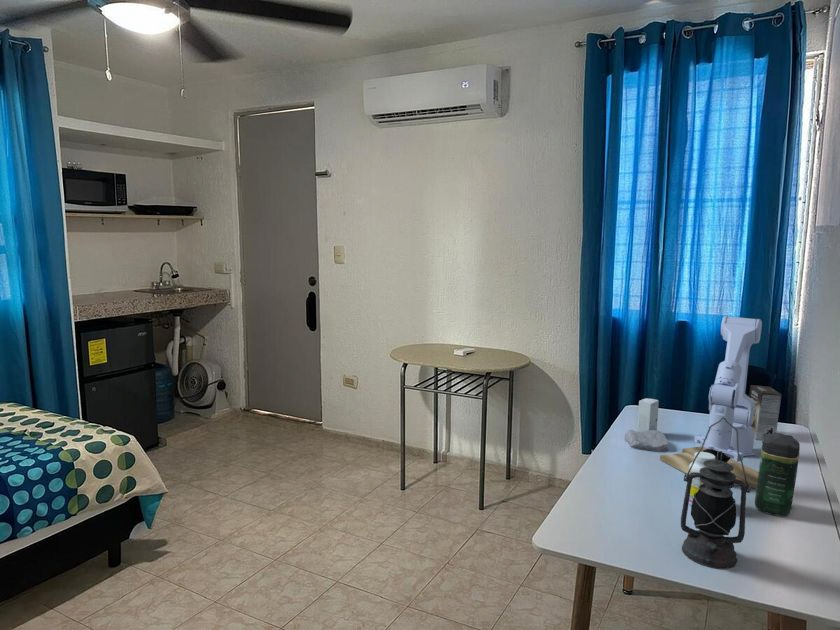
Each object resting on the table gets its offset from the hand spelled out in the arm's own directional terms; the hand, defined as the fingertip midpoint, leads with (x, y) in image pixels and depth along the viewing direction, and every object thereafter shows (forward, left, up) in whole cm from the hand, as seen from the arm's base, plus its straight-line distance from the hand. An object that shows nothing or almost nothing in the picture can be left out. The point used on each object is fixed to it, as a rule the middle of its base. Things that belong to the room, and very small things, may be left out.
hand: (714, 476), depth 162 cm
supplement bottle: (+14, +9, -2) cm, 16 cm away
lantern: (+30, +28, -2) cm, 41 cm away
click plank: (-1, -7, -1) cm, 7 cm away
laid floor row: (-11, -7, -2) cm, 14 cm away
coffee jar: (-2, +16, -2) cm, 16 cm away
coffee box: (-44, -25, -2) cm, 51 cm away
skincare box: (-6, -35, -2) cm, 36 cm away
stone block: (-1, -28, -2) cm, 28 cm away
